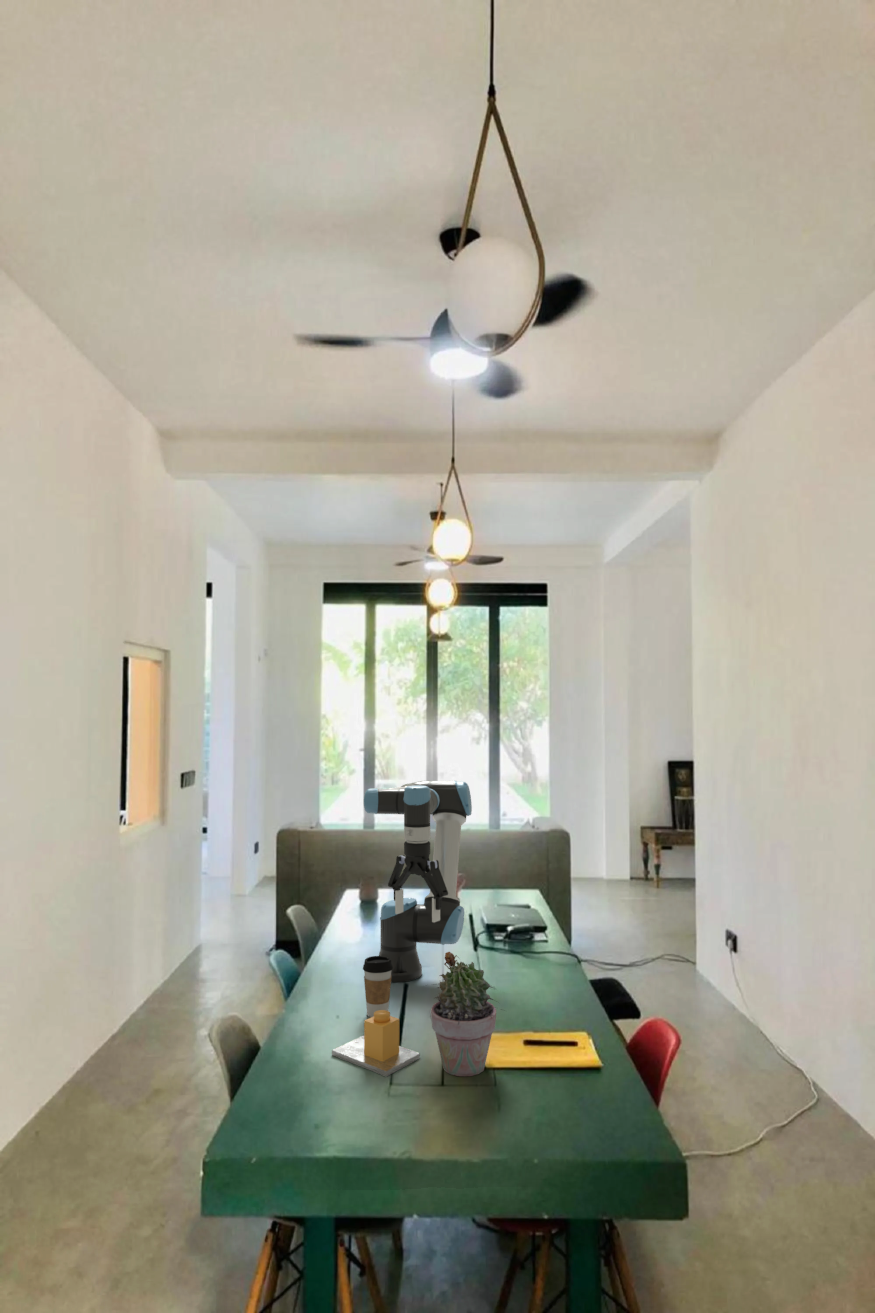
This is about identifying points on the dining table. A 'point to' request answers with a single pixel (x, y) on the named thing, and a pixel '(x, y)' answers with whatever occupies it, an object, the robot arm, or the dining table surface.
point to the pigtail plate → (355, 1055)
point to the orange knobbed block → (381, 1036)
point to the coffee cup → (377, 983)
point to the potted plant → (463, 1019)
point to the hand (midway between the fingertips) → (417, 917)
